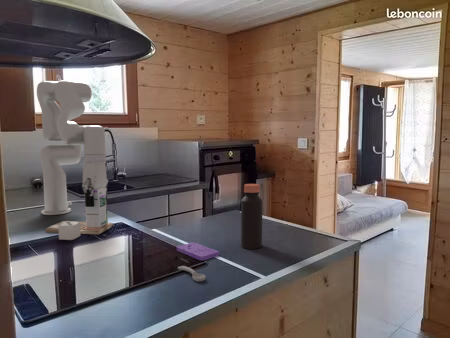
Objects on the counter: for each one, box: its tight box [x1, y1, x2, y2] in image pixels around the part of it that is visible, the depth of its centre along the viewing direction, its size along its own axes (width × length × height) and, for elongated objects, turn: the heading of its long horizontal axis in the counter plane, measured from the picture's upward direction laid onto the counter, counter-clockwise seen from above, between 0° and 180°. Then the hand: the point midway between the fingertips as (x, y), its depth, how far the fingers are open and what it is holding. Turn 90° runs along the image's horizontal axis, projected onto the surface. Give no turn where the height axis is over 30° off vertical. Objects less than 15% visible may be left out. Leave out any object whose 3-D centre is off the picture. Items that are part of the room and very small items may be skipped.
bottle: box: [240, 183, 263, 250], centre depth 113 cm, size 7×7×20 cm
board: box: [44, 220, 114, 235], centre depth 136 cm, size 12×21×2 cm, turn 82°
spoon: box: [177, 265, 206, 283], centre depth 91 cm, size 3×12×2 cm, turn 35°
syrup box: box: [85, 187, 109, 228], centre depth 134 cm, size 6×6×14 cm
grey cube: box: [58, 221, 81, 241], centre depth 124 cm, size 5×5×5 cm
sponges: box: [176, 241, 220, 262], centre depth 108 cm, size 7×13×2 cm, turn 43°
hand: (96, 204), depth 134 cm, fingers open, 9 cm apart
